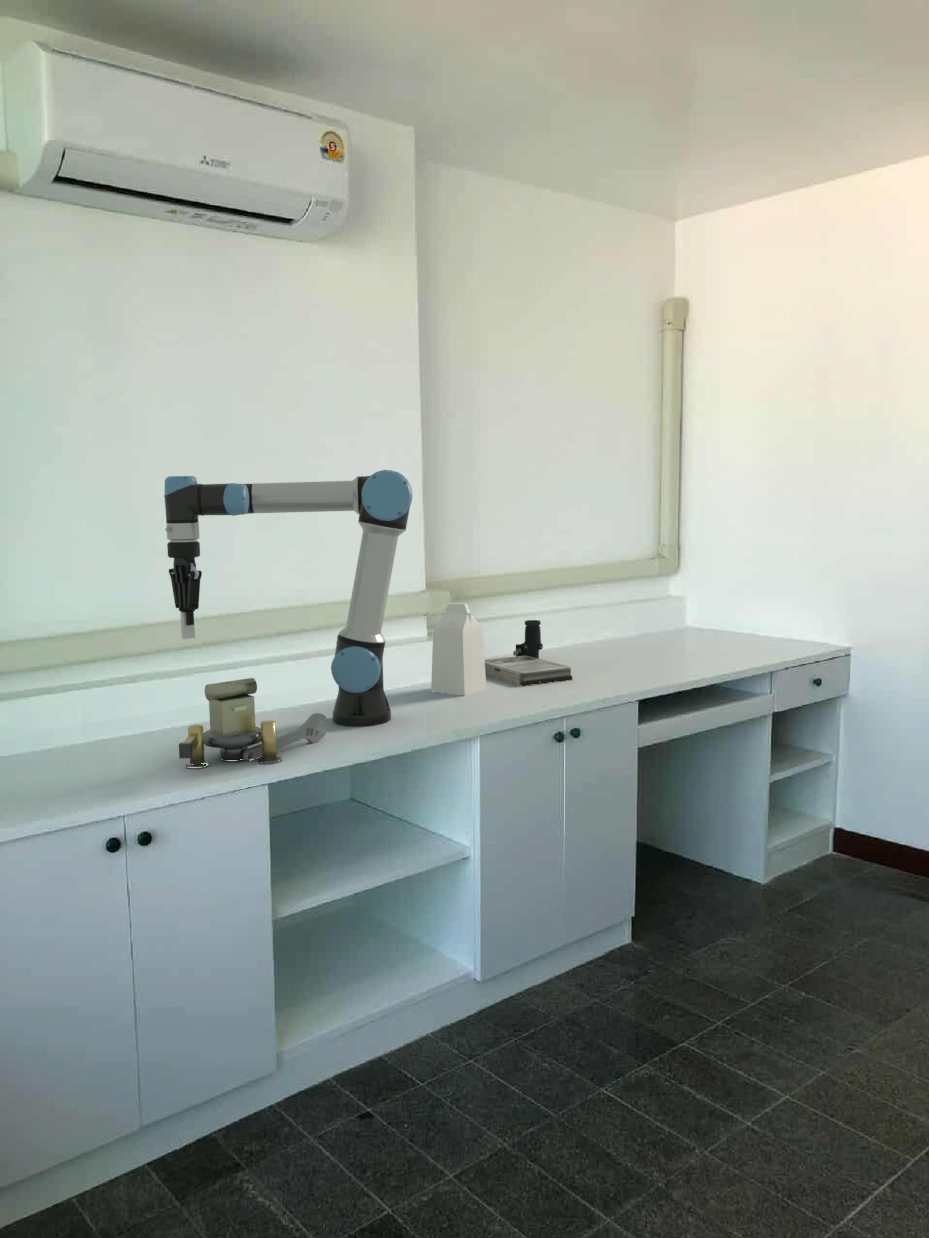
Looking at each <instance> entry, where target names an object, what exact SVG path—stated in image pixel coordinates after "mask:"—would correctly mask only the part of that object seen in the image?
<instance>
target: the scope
mask: <svg viewBox="0 0 929 1238" xmlns="http://www.w3.org/2000/svg"><path fill="white" fill-rule="evenodd" d="M541 624H542V623H541V620H536V619H529V620H528V619H527V620H525V621H524V625H525V627H524V628H525V629H524V641H523V642H522V643H518V644H515V650H514V651H513V652H512V654H513V656H515V657H517V656H529V657H533V658H537V659H540V655H539V654H540V651H541V650H542V649H543V648H544V647H543V646H544V645H543V643H542V638H541V637H542V635H541V634H542V632H541V626H540V625H541Z"/></svg>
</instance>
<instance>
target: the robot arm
mask: <svg viewBox="0 0 929 1238" xmlns="http://www.w3.org/2000/svg"><path fill="white" fill-rule="evenodd" d="M163 497H164V507H165V520H166V521H165V524H166V528H165V529H164V530H165V532H166V539H167V540H169V541H168V542H167V546H166V548H167V556H168V557H169V558H170V559H173V562H172V563H173V568H169V569H168V574H169V577H170V582H171V586H172V593H173V595H172V596H173V599H174V606H175V609H178V611H179V612H180V628H181V640H182V639H183V640H187V639H189V640H190V639H195V638H196V632H195V631H196V630H195V613H194V612H195V611H196V610H199V604H200V603H199V602H200V588H201V578H202V575H203V572H202V570H198V569H197V564H196V558H198V557H200V556H201V545H200V542H199V541H198V540H199V539H200V523H199V516H234V517H235V516H240V515H241V516H242V515H248V514H273V513H274V514H276V513H277V514H279V513H313V512H314V513H315V512H316V513H317V512H318V513H319V512H321V513H324V512H325V513H326V512H355V513H356V514H358V522H357V523H358V524H359V526H360V527H361V528H362V535H361V541H360V545H359V552H358V558H357V562H356V563H357V564H356V567H355V568H356V569H355V574H354V581H353V587H352V592H351V598H350V602H349V609H348V613H347V619H346V625H345V627H344V628H343V629H341V630H340V631H339V632H338V634H337V636H336V642H335V643H336V644H335V645H336V646H335V653H334V657H333V659H332V661H331V665H330V670H331V675H332V678H333V680H334V682H335V683H336V685H337V686H338V692H337V693H338V694H337V696H336V699H335V702H334V706H333V711H332V722H333V723H334V724H338V725H342V726H352V727H353V726H356V727H357V726H371V725H372V726H373V725H378V724H379V725H380V724H383V723H386V722H389V721H390V720H392V711H391V707H390V704H389V700H388V699H387V696H386V692H385V690H384V687H385V686H384V658H383V657H384V654H385V653H384V652H385V646H386V641H387V640H386V639H385V637H384V636H383V634H382V628H383V623H384V616H385V610H386V606H387V601H388V596H389V595H388V594H389V589H390V585H391V584H390V583H391V578H392V572H393V568H394V567H393V566H394V561H395V557H396V556H395V555H396V551H397V545H398V540H399V536H401V534H404V533H405V532H406V530H407V525H408V519H409V513H410V508H411V505H412V502H413V488H412V486H411V484H410V482H409V480H408V478H406V477H405V476H404V475H403V474H402V473H400V472H399V471H398V472H397V471H394V470H389V469H383V470H378V471H375V472H374V473H373V474H371V475H365V476H362V475H361V476H356V477H355V478H353V480H336V481H335V480H334V481H333V480H330V481H329V480H328V481H327V480H326V481H298V482H297V481H296V482H295V481H293V482H261V483H260V482H259V483H258V482H257V483H254V482H253V483H236V482H229V483H208V484H207V483H205V484H203V483H198V481H197V477H196V476H194V475H181V476H180V475H176V476H175V475H172V476H171V475H170V476H167V477H166V478H165V479H164V495H163Z"/></svg>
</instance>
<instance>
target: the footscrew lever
mask: <svg viewBox="0 0 929 1238" xmlns="http://www.w3.org/2000/svg"><path fill="white" fill-rule="evenodd" d="M187 734H188V735H187V738H185V740H184V741H183V742H179V743H178V753H179V754H178V757H179V759H189V762H190V764H201V763H204V762H205V761H206V759H205V745H204V737H203V734H204V725H203V724H191V725H189V726H187Z"/></svg>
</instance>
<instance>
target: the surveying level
mask: <svg viewBox="0 0 929 1238" xmlns="http://www.w3.org/2000/svg"><path fill="white" fill-rule="evenodd" d="M257 690H258V684H257V680H255V678H253V677H248V678H242V679H235V680H229V681H228V680H227V681H223V682H222V681H221V682H215V683H208V684H206V685H205V686H204V695H205V696H204V697H205V698H206V700H207V701H208V707H209V708H208V711H209V728H210V729H207V730H206V731H203V737H204V746H207V747H210V748H217V749H219V752H220V760H221V759H223V760H240V759H244V758H243V753H244V751H245V750H247V749H249V747H250V746H254V745H257V744H260V743H261V744H262V757H261V758H259V759H257V762H258V761H259V762H262V763H274V764H276V763H275V762H278V761H280V760H282V761H283V759H282V757H281V756H278V750H277V745H276V738H277V729H276V728H277V726H276V725H277V724H276V721H275V720H262V721H261V722H260V727H259V726H256V709H255V708H256V707H255V696H254V694H256V693H257ZM252 694H253V695H252ZM188 763H190V761H189V762H188ZM204 763H210V762H209V761H207V760H205V762H204ZM278 763H279V762H278ZM185 766H186V767H204V766H206V764H204V765H203V764H193V765H192V764H187V763H185V764H184V767H185Z"/></svg>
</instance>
